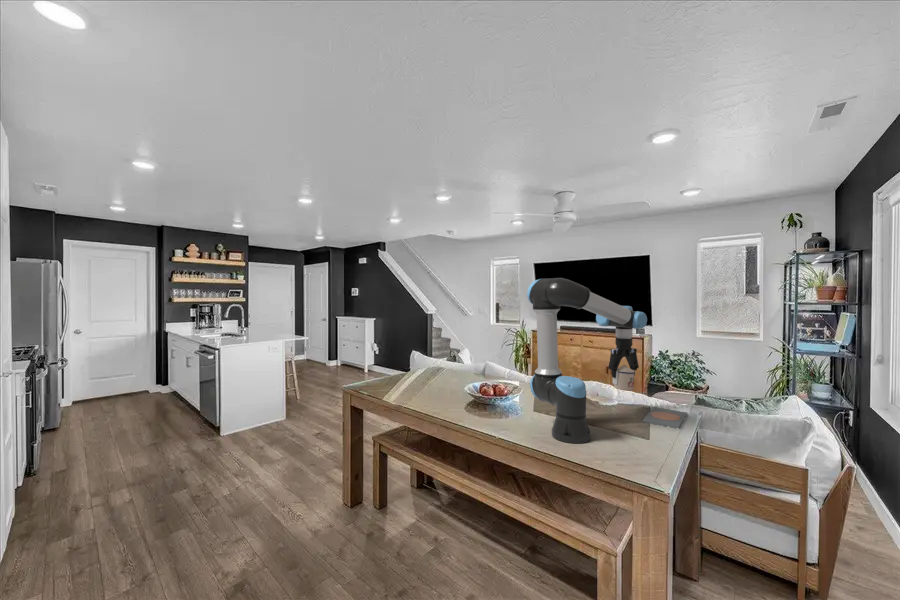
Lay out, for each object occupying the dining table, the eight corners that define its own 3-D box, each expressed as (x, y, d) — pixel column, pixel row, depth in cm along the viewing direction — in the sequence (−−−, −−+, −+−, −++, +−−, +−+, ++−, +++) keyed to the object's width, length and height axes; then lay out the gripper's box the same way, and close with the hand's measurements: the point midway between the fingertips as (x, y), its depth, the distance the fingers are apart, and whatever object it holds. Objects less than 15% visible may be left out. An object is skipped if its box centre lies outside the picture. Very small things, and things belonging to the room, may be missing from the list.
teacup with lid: (631, 392, 178) (632, 367, 178) (611, 388, 184) (612, 364, 184) (637, 388, 188) (638, 364, 188) (618, 385, 193) (619, 362, 193)
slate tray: (678, 428, 162) (678, 426, 162) (642, 421, 171) (642, 419, 171) (687, 414, 181) (687, 412, 181) (654, 409, 190) (654, 406, 190)
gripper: (635, 336, 192) (635, 380, 192) (600, 337, 185) (599, 383, 185) (647, 337, 185) (647, 383, 185) (611, 339, 178) (610, 386, 178)
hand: (623, 383), depth 185 cm, fingers closed on teacup with lid, 9 cm apart
